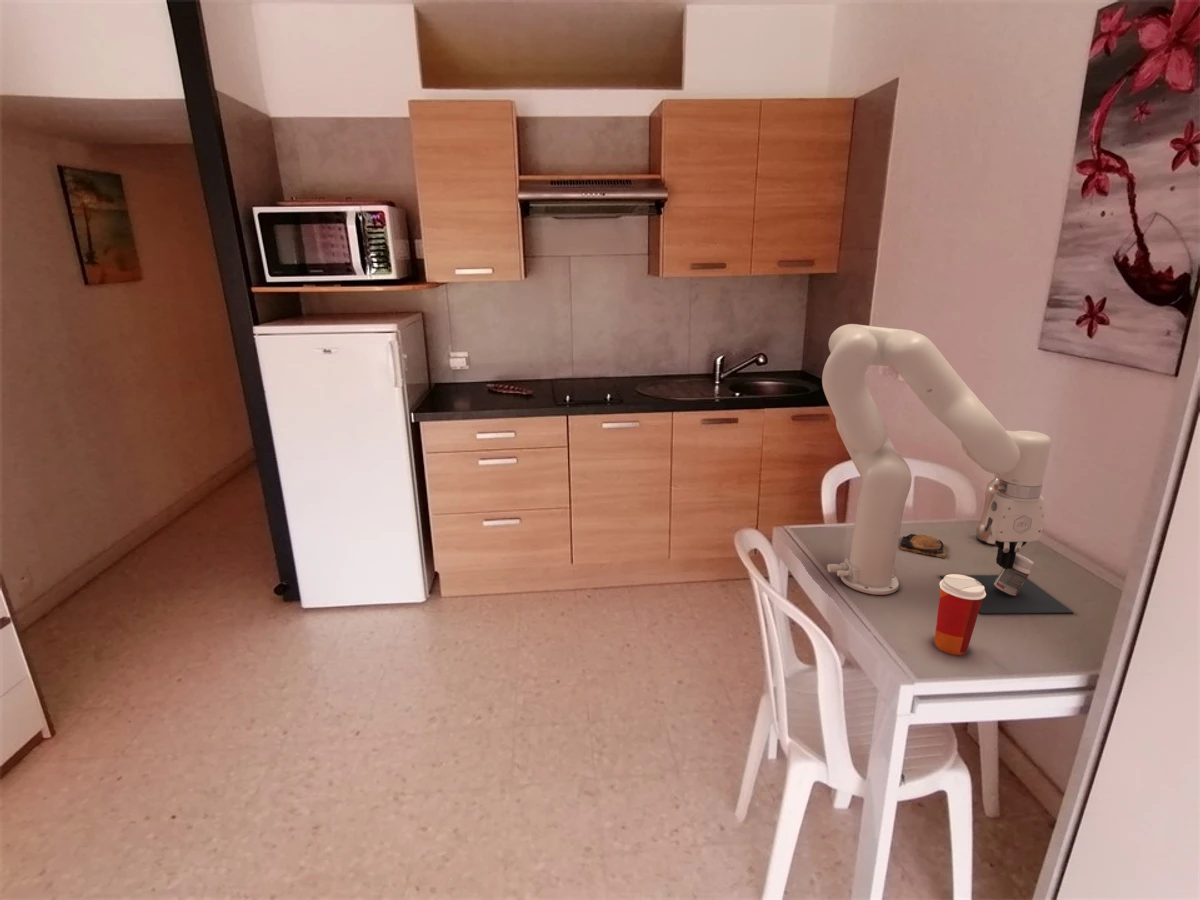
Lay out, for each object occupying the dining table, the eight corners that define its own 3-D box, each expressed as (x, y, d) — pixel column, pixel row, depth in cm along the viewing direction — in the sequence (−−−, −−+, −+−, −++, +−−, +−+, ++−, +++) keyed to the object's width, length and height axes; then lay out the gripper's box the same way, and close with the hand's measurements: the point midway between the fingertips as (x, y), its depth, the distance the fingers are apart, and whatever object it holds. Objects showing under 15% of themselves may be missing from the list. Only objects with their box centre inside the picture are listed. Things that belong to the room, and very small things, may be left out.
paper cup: (958, 634, 123) (971, 572, 119) (981, 658, 116) (996, 593, 112) (919, 634, 123) (931, 572, 119) (941, 658, 116) (954, 593, 112)
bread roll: (945, 546, 161) (948, 533, 160) (945, 559, 154) (948, 546, 153) (901, 537, 166) (903, 525, 165) (899, 550, 159) (901, 537, 158)
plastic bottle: (968, 537, 166) (983, 468, 160) (988, 534, 168) (1002, 465, 162) (989, 547, 160) (1005, 476, 154) (1009, 544, 162) (1025, 473, 156)
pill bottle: (1019, 598, 135) (1039, 566, 133) (998, 590, 136) (1018, 558, 133) (1010, 589, 140) (1029, 558, 137) (989, 581, 140) (1008, 550, 138)
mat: (980, 614, 130) (981, 612, 130) (939, 576, 146) (939, 575, 145) (1073, 613, 131) (1073, 612, 131) (1022, 576, 146) (1022, 575, 146)
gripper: (996, 496, 127) (981, 575, 132) (1067, 494, 127) (1049, 573, 132) (974, 483, 134) (960, 559, 139) (1041, 481, 134) (1025, 557, 140)
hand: (1004, 565), depth 136 cm, fingers closed
